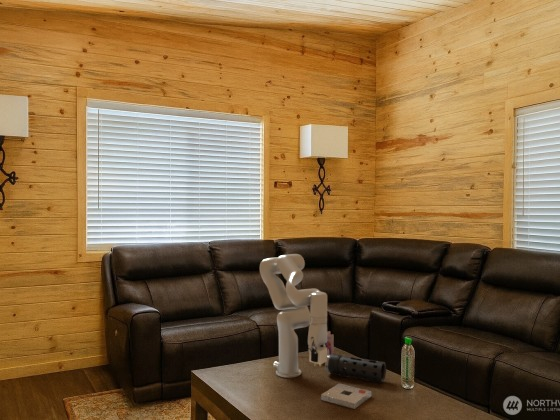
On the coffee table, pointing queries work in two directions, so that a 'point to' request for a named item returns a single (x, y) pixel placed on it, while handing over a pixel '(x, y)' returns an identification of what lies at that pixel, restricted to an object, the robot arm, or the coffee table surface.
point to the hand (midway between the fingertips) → (318, 359)
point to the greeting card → (329, 343)
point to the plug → (319, 356)
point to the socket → (346, 396)
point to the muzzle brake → (356, 368)
